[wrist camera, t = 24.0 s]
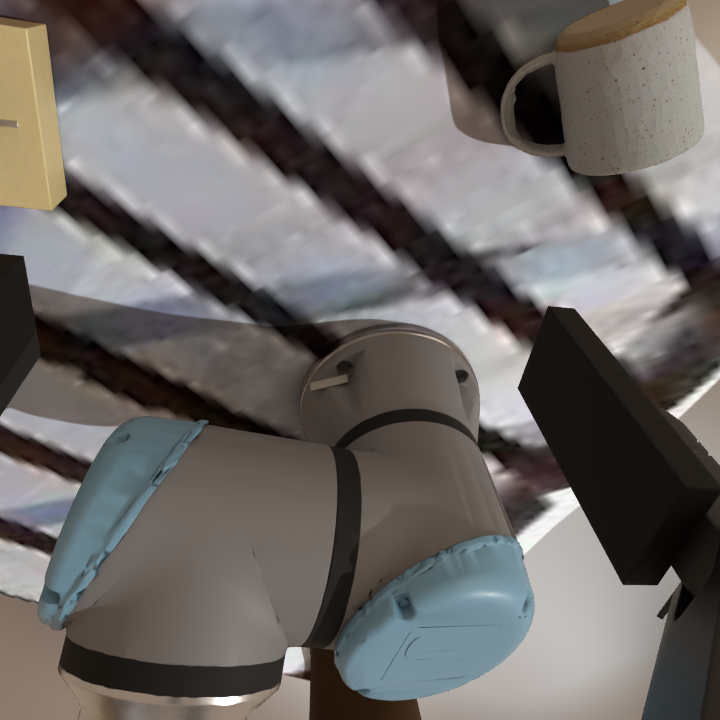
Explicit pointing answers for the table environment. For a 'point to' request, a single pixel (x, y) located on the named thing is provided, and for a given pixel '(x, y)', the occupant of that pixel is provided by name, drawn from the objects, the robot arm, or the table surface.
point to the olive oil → (348, 696)
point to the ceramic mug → (621, 88)
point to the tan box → (28, 119)
